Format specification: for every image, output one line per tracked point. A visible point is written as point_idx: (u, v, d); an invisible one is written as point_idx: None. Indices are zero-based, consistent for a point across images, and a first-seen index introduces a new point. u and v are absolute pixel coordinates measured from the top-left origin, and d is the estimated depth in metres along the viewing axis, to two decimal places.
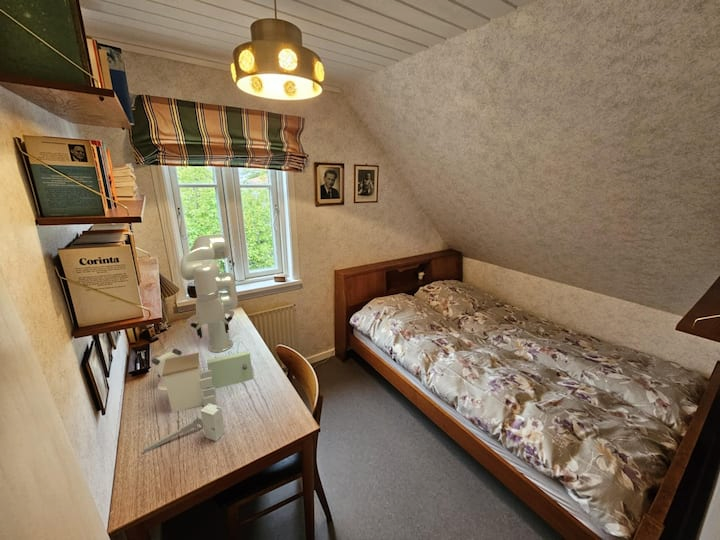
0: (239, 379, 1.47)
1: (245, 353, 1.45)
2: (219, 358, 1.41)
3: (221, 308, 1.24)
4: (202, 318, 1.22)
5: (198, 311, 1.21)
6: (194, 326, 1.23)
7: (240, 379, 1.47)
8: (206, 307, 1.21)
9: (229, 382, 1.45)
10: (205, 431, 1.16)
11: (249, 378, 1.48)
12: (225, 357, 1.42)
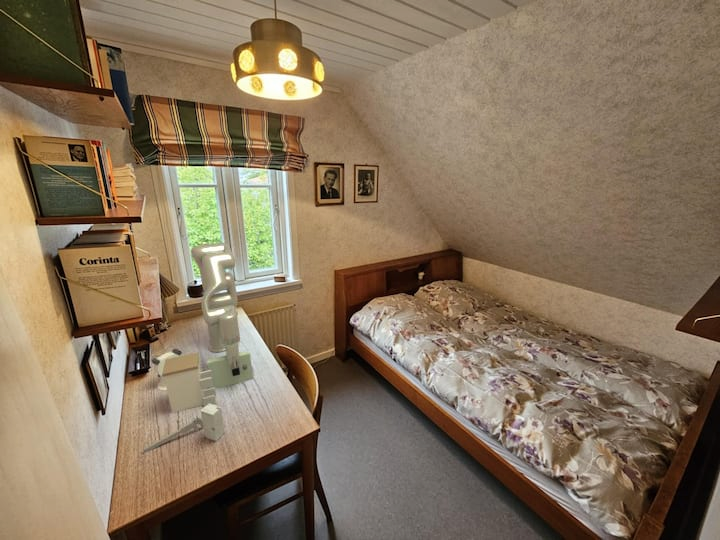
0: (239, 379, 1.46)
1: (245, 353, 1.45)
2: (219, 358, 1.41)
3: None
4: None
5: (238, 351, 1.40)
6: (237, 366, 1.42)
7: (240, 379, 1.47)
8: None
9: (229, 382, 1.45)
10: (205, 431, 1.16)
11: (249, 378, 1.48)
12: (225, 357, 1.42)
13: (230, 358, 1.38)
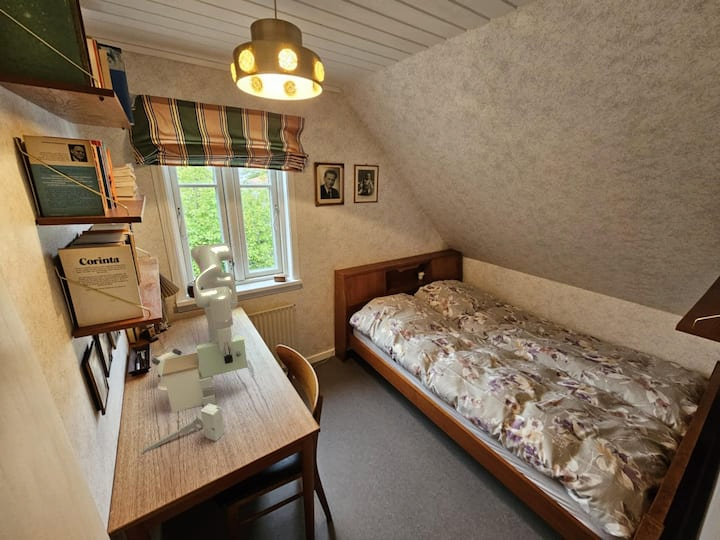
0: (232, 368, 1.34)
1: (239, 338, 1.33)
2: (210, 344, 1.29)
3: None
4: (231, 342, 1.29)
5: (230, 336, 1.27)
6: None
7: (233, 367, 1.34)
8: (230, 330, 1.29)
9: (221, 370, 1.32)
10: (205, 431, 1.16)
11: (243, 366, 1.36)
12: (217, 343, 1.30)
13: (222, 343, 1.25)
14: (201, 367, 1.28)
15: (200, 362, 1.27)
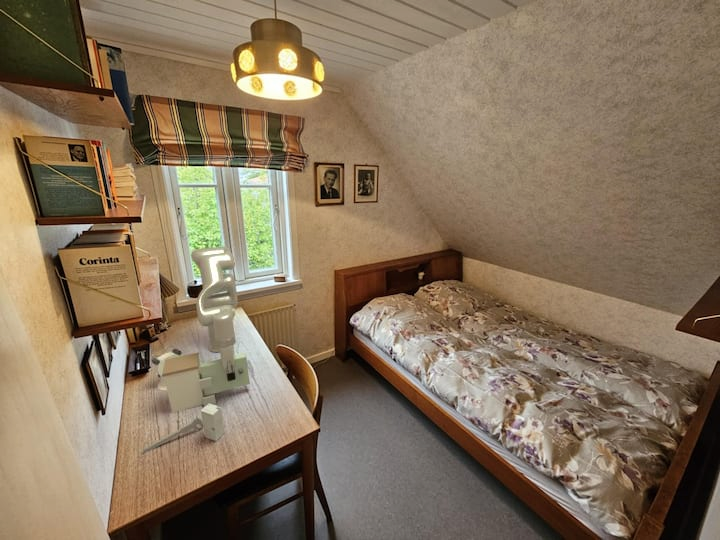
0: (235, 384, 1.37)
1: (241, 356, 1.35)
2: (213, 362, 1.31)
3: None
4: (234, 360, 1.32)
5: (233, 354, 1.30)
6: (232, 370, 1.32)
7: (236, 384, 1.37)
8: (233, 348, 1.32)
9: (224, 387, 1.35)
10: (205, 431, 1.16)
11: (246, 383, 1.38)
12: (220, 360, 1.32)
13: (225, 362, 1.28)
14: None
15: None
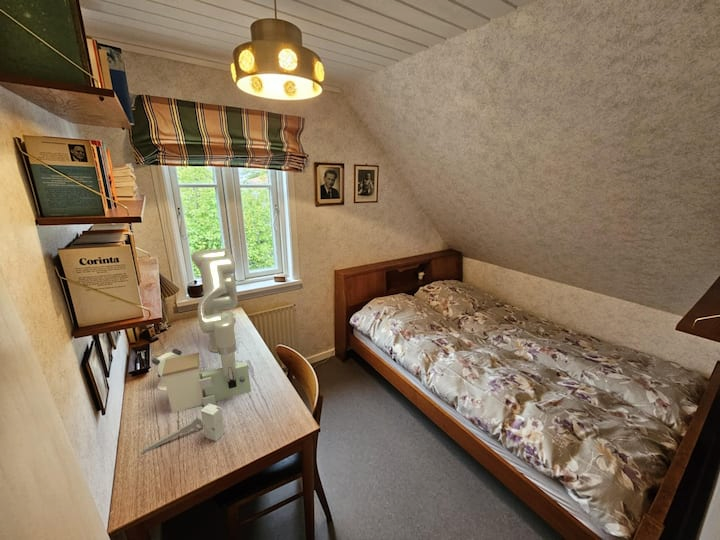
0: (236, 392, 1.38)
1: (243, 364, 1.37)
2: (215, 370, 1.33)
3: None
4: (235, 366, 1.33)
5: (234, 361, 1.31)
6: (233, 378, 1.32)
7: (237, 392, 1.38)
8: (234, 355, 1.33)
9: (226, 395, 1.36)
10: (205, 431, 1.16)
11: (247, 391, 1.40)
12: (221, 369, 1.34)
13: (226, 369, 1.29)
14: (206, 393, 1.32)
15: (205, 388, 1.31)
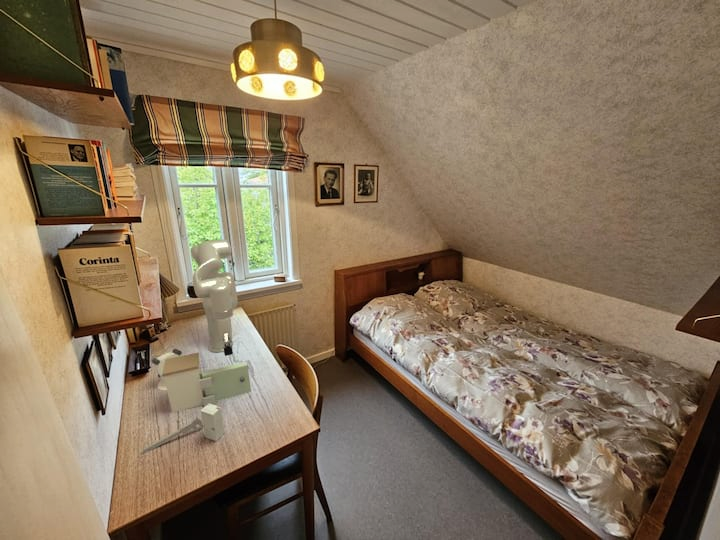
0: (236, 392, 1.38)
1: (243, 364, 1.37)
2: (215, 370, 1.33)
3: None
4: (231, 332, 1.29)
5: (230, 327, 1.27)
6: None
7: (237, 392, 1.38)
8: (230, 321, 1.29)
9: (226, 395, 1.36)
10: (205, 431, 1.16)
11: (247, 391, 1.40)
12: (221, 369, 1.34)
13: (222, 334, 1.25)
14: (206, 393, 1.32)
15: (205, 388, 1.31)
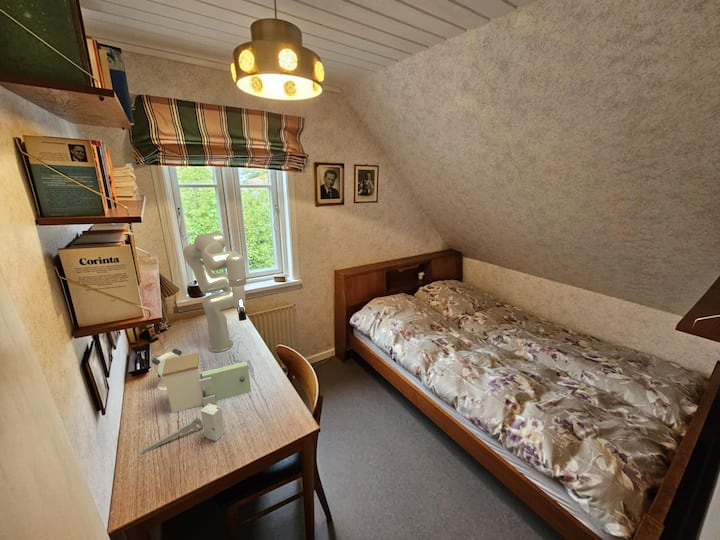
0: (236, 392, 1.38)
1: (243, 364, 1.37)
2: (215, 370, 1.33)
3: None
4: (245, 300, 1.42)
5: (244, 294, 1.40)
6: (243, 310, 1.39)
7: (237, 392, 1.38)
8: (244, 289, 1.42)
9: (226, 395, 1.36)
10: (205, 431, 1.16)
11: (247, 391, 1.40)
12: (221, 369, 1.34)
13: (237, 300, 1.38)
14: (206, 393, 1.32)
15: (205, 388, 1.31)
